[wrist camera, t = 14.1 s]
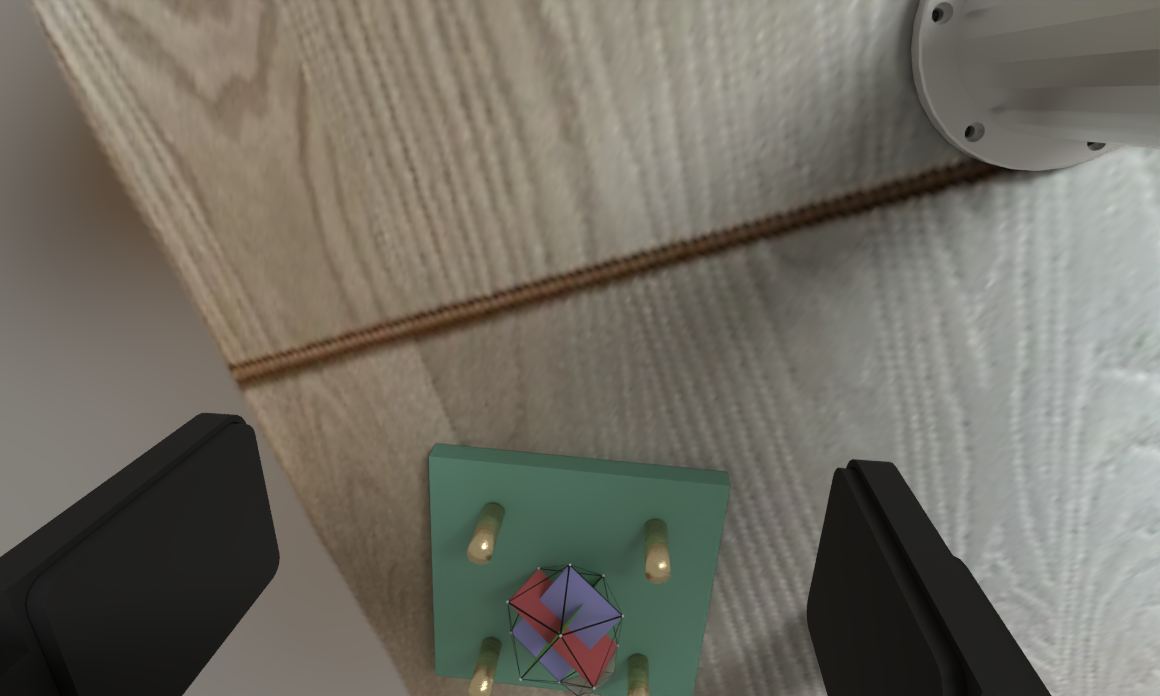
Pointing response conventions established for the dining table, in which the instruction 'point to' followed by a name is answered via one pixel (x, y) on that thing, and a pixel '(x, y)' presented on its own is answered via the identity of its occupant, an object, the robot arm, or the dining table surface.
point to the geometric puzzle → (567, 628)
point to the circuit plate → (573, 557)
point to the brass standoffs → (491, 646)
